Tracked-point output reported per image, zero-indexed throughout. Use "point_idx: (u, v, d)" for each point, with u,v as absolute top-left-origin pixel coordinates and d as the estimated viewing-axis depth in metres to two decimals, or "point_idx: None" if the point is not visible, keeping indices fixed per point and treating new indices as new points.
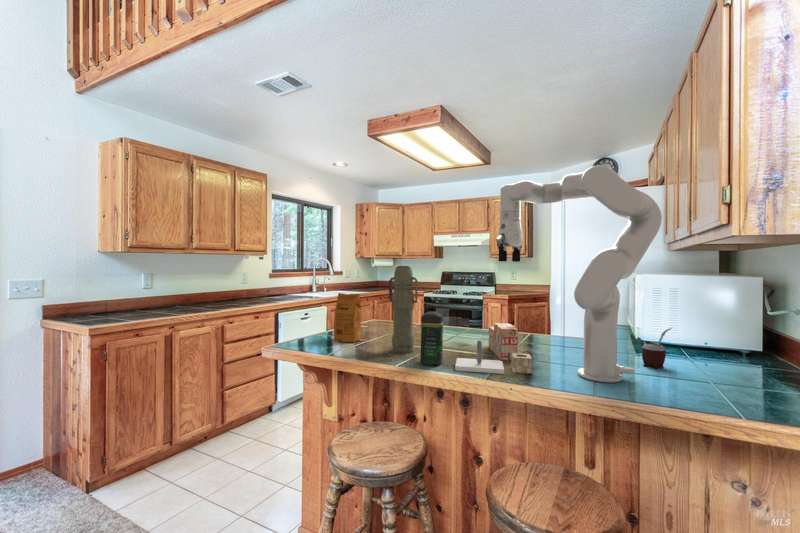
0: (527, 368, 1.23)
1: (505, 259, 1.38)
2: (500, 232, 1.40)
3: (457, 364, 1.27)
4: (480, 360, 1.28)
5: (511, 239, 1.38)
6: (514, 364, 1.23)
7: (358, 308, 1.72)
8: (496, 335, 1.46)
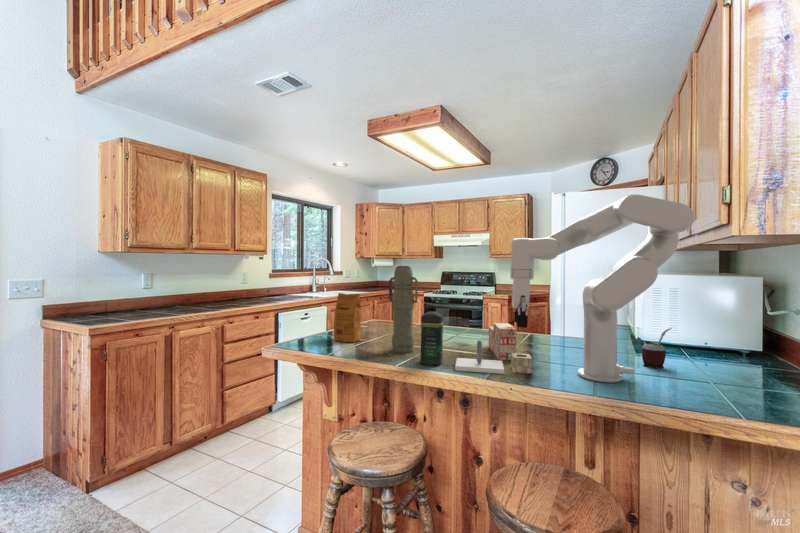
0: (527, 368, 1.23)
1: None
2: None
3: (457, 364, 1.27)
4: (480, 360, 1.28)
5: None
6: (514, 364, 1.23)
7: (358, 308, 1.72)
8: (495, 335, 1.47)
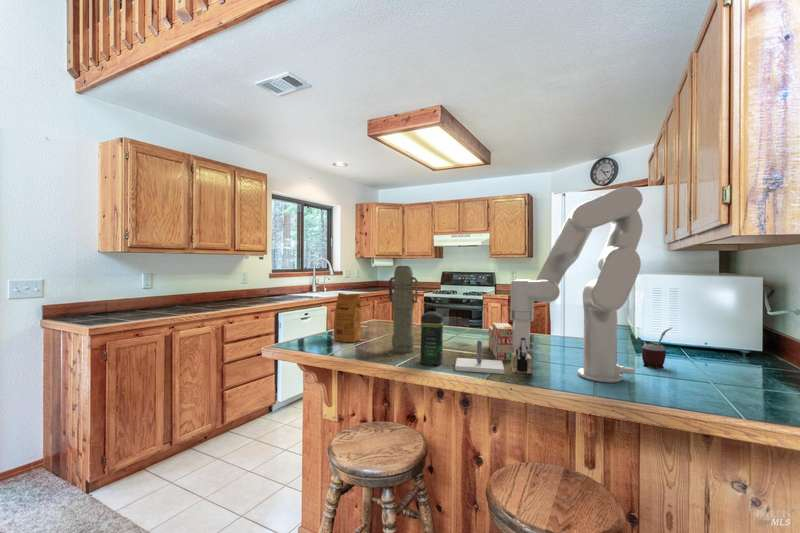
0: (527, 368, 1.23)
1: None
2: None
3: (457, 364, 1.27)
4: (480, 360, 1.28)
5: None
6: (514, 364, 1.24)
7: (358, 308, 1.72)
8: (494, 335, 1.47)
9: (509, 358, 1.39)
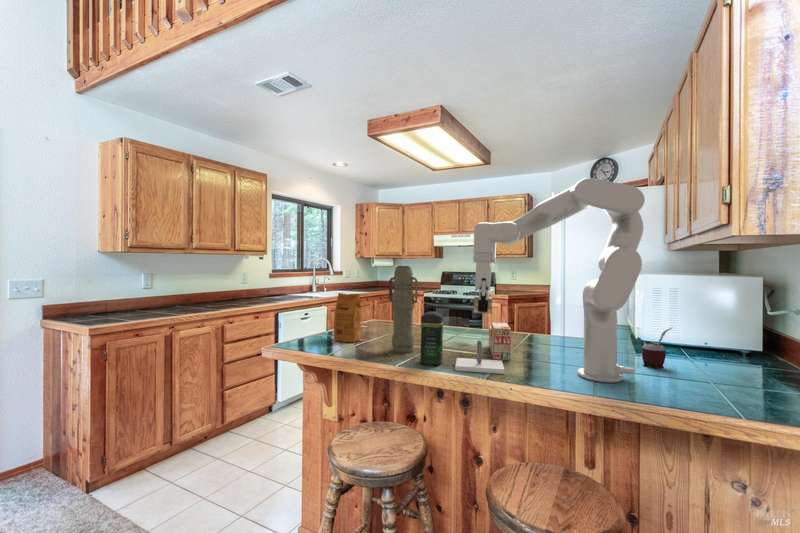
0: None
1: None
2: None
3: (457, 364, 1.27)
4: (480, 360, 1.28)
5: None
6: (475, 305, 1.26)
7: (358, 308, 1.72)
8: (492, 334, 1.47)
9: (506, 358, 1.39)
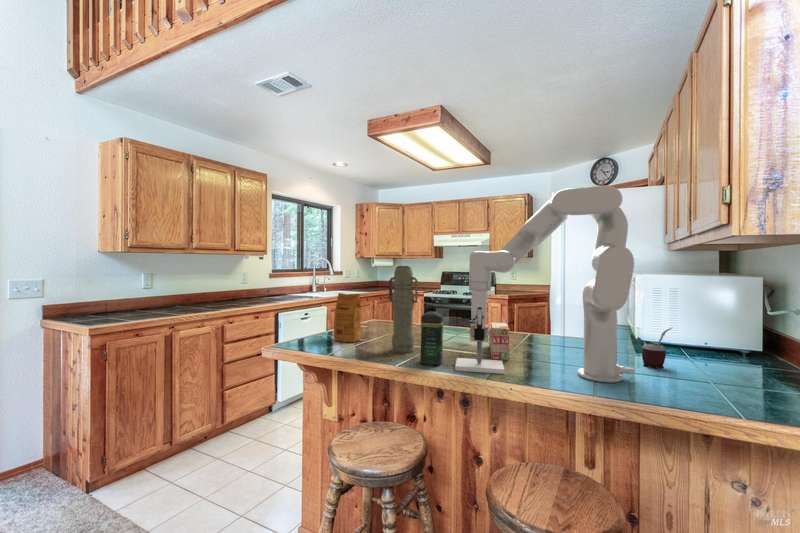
0: (484, 337, 1.25)
1: None
2: None
3: (457, 364, 1.27)
4: (480, 360, 1.28)
5: None
6: (471, 333, 1.26)
7: (358, 308, 1.72)
8: None
9: (504, 358, 1.39)
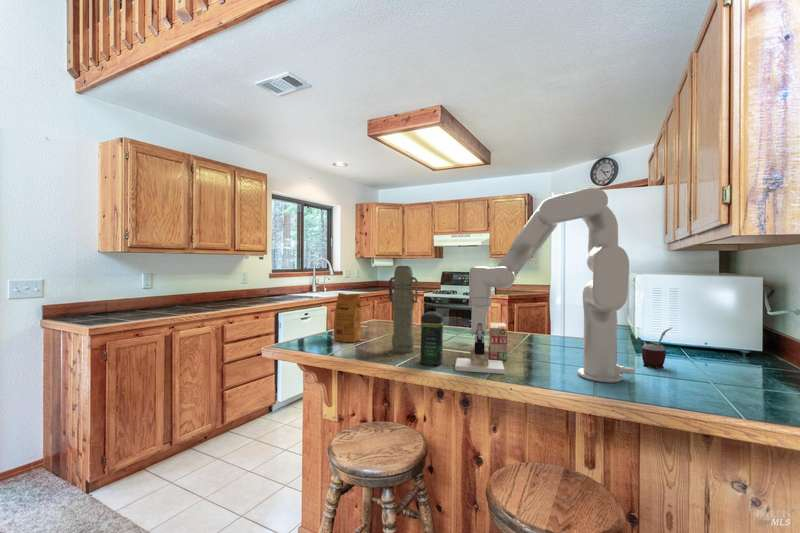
0: (484, 361, 1.26)
1: None
2: None
3: (457, 364, 1.27)
4: None
5: None
6: (471, 357, 1.26)
7: (358, 308, 1.72)
8: None
9: (502, 357, 1.40)
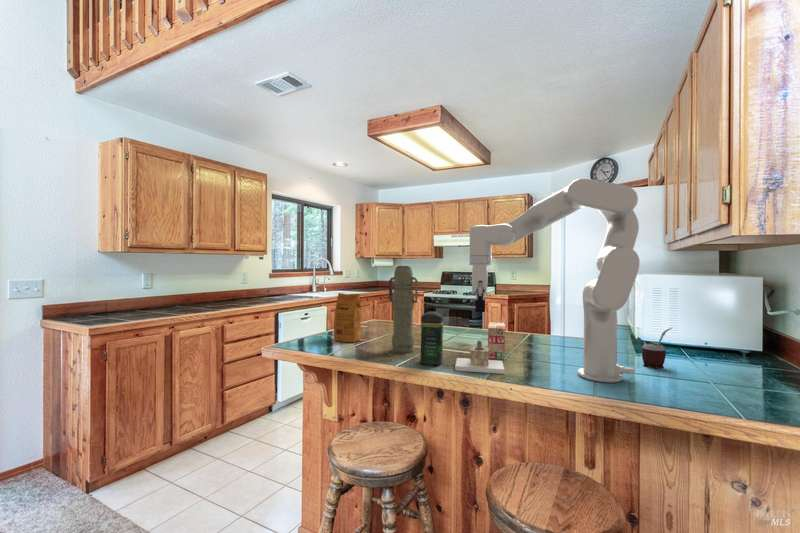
0: (484, 361, 1.26)
1: None
2: None
3: (457, 364, 1.27)
4: None
5: None
6: (471, 357, 1.26)
7: (358, 308, 1.72)
8: None
9: (500, 357, 1.40)
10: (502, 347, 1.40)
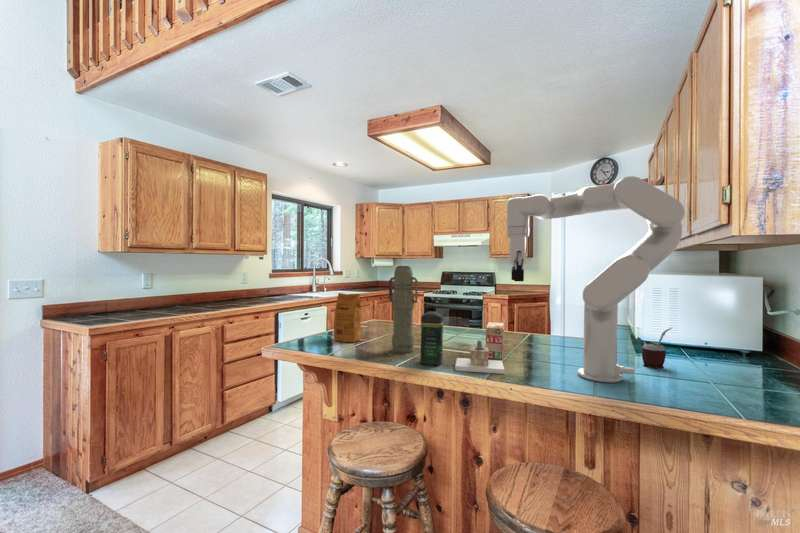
0: (484, 361, 1.26)
1: None
2: None
3: (457, 364, 1.27)
4: None
5: None
6: (471, 357, 1.26)
7: (358, 308, 1.72)
8: None
9: (498, 357, 1.40)
10: (500, 347, 1.40)
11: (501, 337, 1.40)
